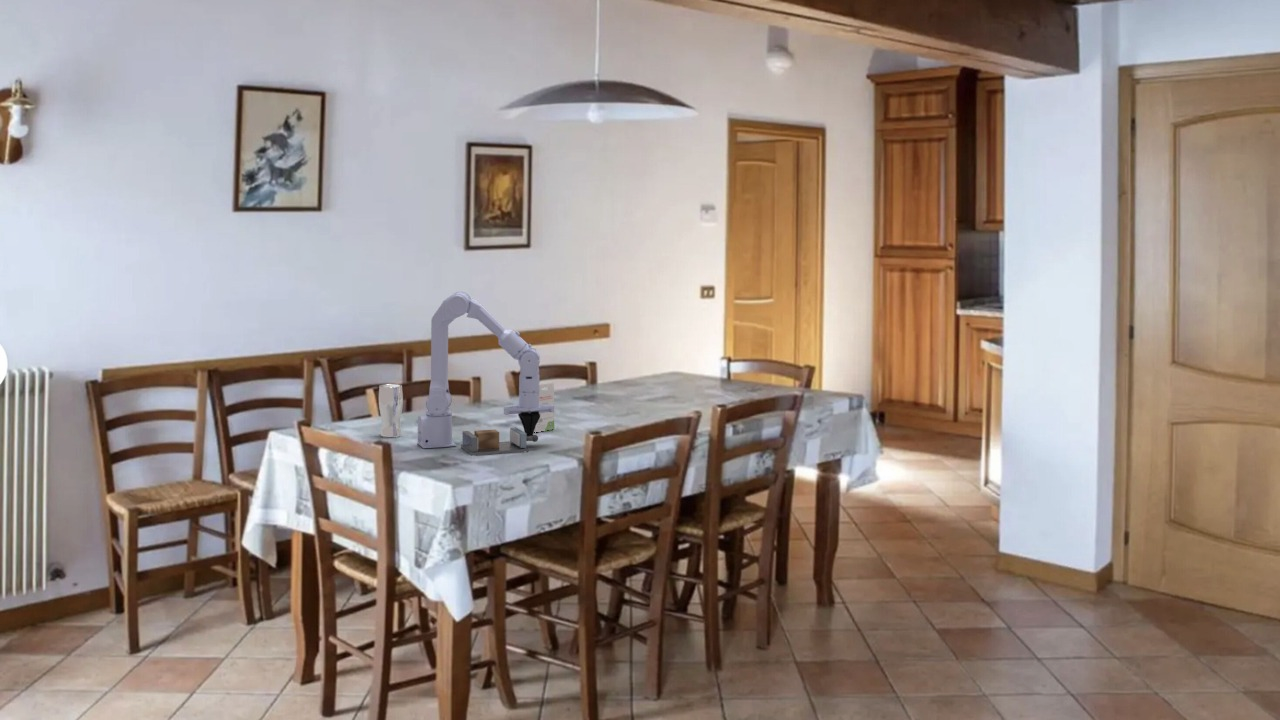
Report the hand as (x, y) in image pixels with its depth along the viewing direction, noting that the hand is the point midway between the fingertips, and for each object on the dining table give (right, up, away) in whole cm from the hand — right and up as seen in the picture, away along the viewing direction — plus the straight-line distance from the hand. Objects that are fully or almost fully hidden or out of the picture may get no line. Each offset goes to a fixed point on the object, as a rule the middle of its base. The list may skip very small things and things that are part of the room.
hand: (528, 438), depth 326 cm
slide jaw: (-1, -2, -3) cm, 3 cm away
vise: (-9, -3, -6) cm, 11 cm away
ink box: (+1, 0, +23) cm, 23 cm away
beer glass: (-42, 0, +11) cm, 43 cm away
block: (-11, -2, -7) cm, 13 cm away
